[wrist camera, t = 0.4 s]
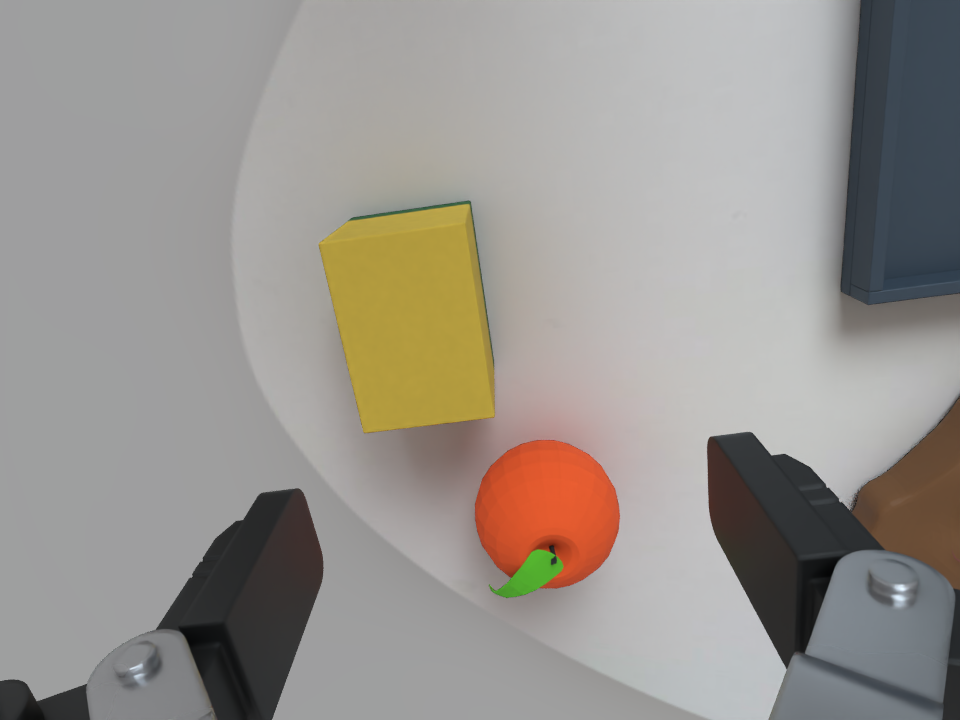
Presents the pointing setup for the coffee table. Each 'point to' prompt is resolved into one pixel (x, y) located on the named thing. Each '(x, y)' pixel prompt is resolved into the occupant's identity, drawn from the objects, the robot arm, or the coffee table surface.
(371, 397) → the sponge
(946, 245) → the tray
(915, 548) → the plant
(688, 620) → the coffee table surface
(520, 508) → the clementine
